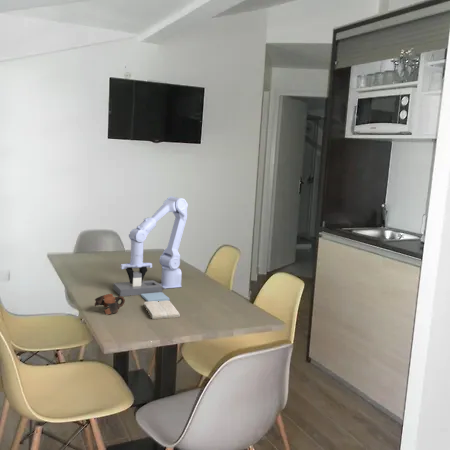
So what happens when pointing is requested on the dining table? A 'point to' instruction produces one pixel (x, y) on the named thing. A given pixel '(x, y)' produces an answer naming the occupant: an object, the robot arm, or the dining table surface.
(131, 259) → the robot arm
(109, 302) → the broken clay pot
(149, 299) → the pad
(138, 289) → the gray socket board
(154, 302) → the washcloth
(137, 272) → the plug
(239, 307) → the dining table surface
